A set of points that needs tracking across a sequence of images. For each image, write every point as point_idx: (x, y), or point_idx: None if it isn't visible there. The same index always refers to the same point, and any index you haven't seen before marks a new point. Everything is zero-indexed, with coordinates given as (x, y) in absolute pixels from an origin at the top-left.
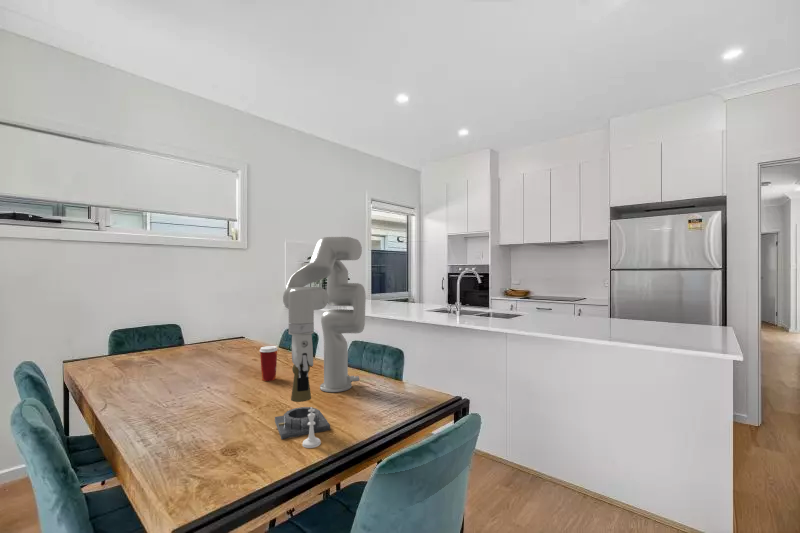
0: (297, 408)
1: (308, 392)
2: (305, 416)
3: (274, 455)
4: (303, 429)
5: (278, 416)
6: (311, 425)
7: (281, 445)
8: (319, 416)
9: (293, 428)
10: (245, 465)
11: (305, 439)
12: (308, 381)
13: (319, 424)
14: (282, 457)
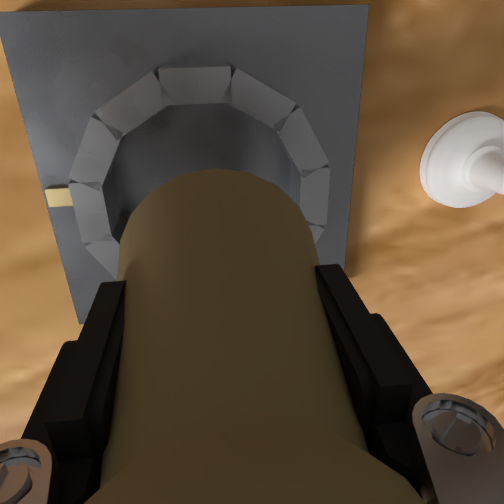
0: (91, 223)
1: (298, 236)
2: (128, 151)
3: (462, 313)
4: (344, 193)
5: (76, 307)
6: None
7: (392, 287)
8: (165, 46)
9: None
10: (468, 390)
11: (441, 192)
12: (295, 304)
13: (317, 81)
14: (498, 288)
